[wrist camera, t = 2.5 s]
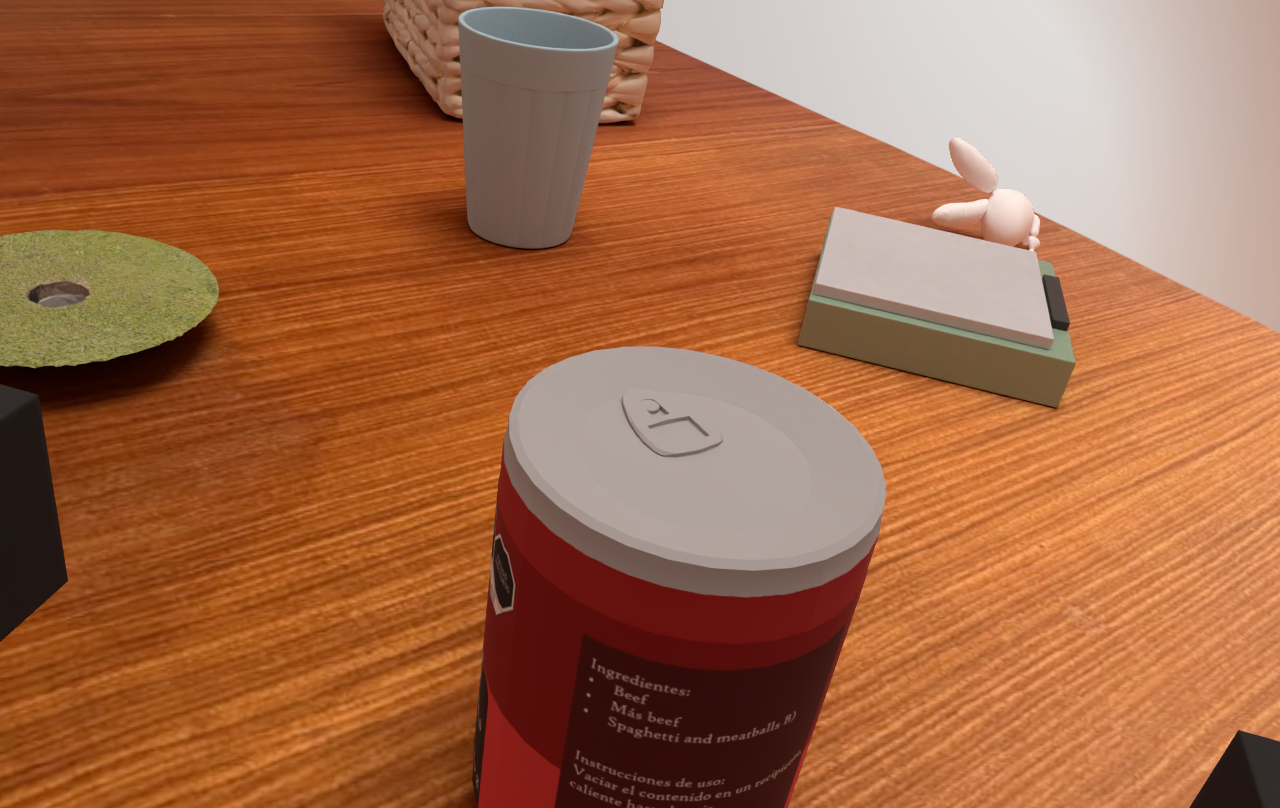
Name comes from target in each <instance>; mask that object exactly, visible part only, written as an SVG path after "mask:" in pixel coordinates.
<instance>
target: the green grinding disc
mask: <svg viewBox="0 0 1280 808" xmlns="http://www.w3.org/2000/svg"><path fill="white" fill-rule="evenodd" d="M217 285H218V284H217V280H216V278H215V277H214V275H213V273H211V271H210V270H209V268H208V266H207V265H205V264H203V262H201V261H200V260H198V258H196V257H195V256H193V255H191V254H189V253H188V252H187V253H186V252H185V251H184V250H181V249H178V248H176V247H174V246H170V245H166V244H164V243H160V242H158V241H156V240H153V239H145V238H143V237H137V236H132V235H128V234H122V233H117V232H105V231H100V230H96V231H94V230H86V231H85V230H80V231H74V230H73V231H67V230H47V231H33V232H32V233H27V232H23V233H20V234H18V233H14V234H11V235H5V236H3V237H1V236H0V365H2V366H6V367H7V366H16V365H19V366H26V367H32V368H37V367H41V366H50V365H53V366H55V367H58V366H63V365H70V366H76V365H77V364H86V363H90V362H95V361H107V360H110V359H113V358H115V357H118V356H121V355H128V354H132V353H136V352H139V351H142V350H145V349H148V348H151V347H155V346H158V345H160V344H162V343H163V342H166V341H168V340H171V341H172V340H173V339H175V338H176V337H177V336H182V335H183V333H184V332H186V331H188V330H190V329H191V328H192V327H196V326H197V325H198V323H200V322H201V321H202V319H205V318H206V316H207V315H208V314H209V313H210V312H211V311H212V309H213V307H214V306H215V305H216V302H217V298H218V291H219V287H218V286H217Z"/></svg>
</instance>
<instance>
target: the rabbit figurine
mask: <svg viewBox="0 0 1280 808" xmlns="http://www.w3.org/2000/svg"><path fill="white" fill-rule="evenodd" d="M949 149H950V154H951V158H952V161H953V163H954V166H955V167H956V169H957V171H958V172H959V173H960V175H961V176H962V177H963V178H964V179H965V180H966V181H967V182H968V183H969V184H970V185H971V186H973V187H974V188H976V189H977V190H979V191H981V192H986V193H989V192H991V191H992V195H991V197H990V198H989V199H988V200H987V199H981V200H977V201H974V202H969V203H949V204H945V205H942V206H940V207H939V208H938V209H936V210H935V211H934V212H933V213H932V219H933V221H934V222H935V223H937V224H938V225H940V226H947V227H961V226H966V225H969V224H971V223H974V222H976V221H978V220H979V219H981V231H982V235H983V238H984V240H985V241H990V242H994V243H999V244H1003V245H1007V246H1012V247H1014V246H1015V245H1017V244H1018V243H1020V244H1021V245H1027V247H1028V249H1029V250H1030V251H1034V249H1036V248H1038V247H1039V245H1040V242H1039V240H1038V239H1037V238H1036V236H1038V234H1039V227H1040V219H1039V217H1038V216H1036V215H1035V214H1034V210H1033V207H1032V204H1031V202H1030V201H1029V200H1028V198H1027V197H1026V196H1025V195H1023V194H1021V193H1020V192H1018V191H1015V190H1012V189H996V187H997V183H998V176H997V174H996V171H995V170H994V168H993V167H992V166H991V165H990V164H989V162H988V161H987V160H986V159H985V158H984V157H983V156H982V155H981V154H980V153H979V152H978V151H977V150H976V149H975V148H974V147H973V146H971V145H970V144H969V143H967V142H965V141H963V140H962V139H959V138H956V137H955V138H951V139H950V142H949ZM1029 232H1030V235H1031V236H1029ZM1028 236H1029V237H1028Z"/></svg>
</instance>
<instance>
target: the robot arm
mask: <svg viewBox="0 0 1280 808" xmlns="http://www.w3.org/2000/svg"><path fill="white" fill-rule="evenodd" d="M67 581H68V578H67V572H66V565H65V559H64V553H63V546H62V540H61V534H60V527H59V521H58V515H57V508H56V502H55V496H54V489H53V483H52V477H51V471H50V464H49V458H48V452H47V445H46V439H45V433H44V426H43V420H42V414H41V407H40V401H39V395H37V394H33V393H30V392H26V391H22V390H19V389H15V388H12V387H8V386H4V385H1V384H0V642H1V641H2V640H3V639H4V638H5V637H6V636H7V635H8V634H10V633H11V632H12V631H13V630H14V629H15V628H16V627H17V626H18V625H20V624H21V623H22V622H23V621H24V620H25V619H26V618H27V617H28V616H30V615H31V614H32V613H33V612H34V611H35V610H36V609H37V608H38V607H40V606H41V605H42V604H43V603H44V602H45V601H46V600H47V599H48V598H50V597H51V596H52V595H53V594H54V593H55V592H56V591H57V590H58V589H60V588H61V587H62V586H63V585H64V584H65V583H66V582H67ZM1190 808H1280V742H1279V741H1276V740H1272V739H1268V738H1265V737H1261V736H1258V735H1254V734H1251V733H1247V732H1243V731H1240V730H1238V732H1237V733H1236V735H1235V737H1234V738H1233V740H1232V741H1231V743H1230V744H1229V746H1228V748H1227V749H1226V751H1225V752H1224V754H1223V755H1222V757H1221V759H1220V760H1219V762H1218V763H1217V765H1216V767H1215V768H1214V770H1213V771H1212V773H1211V774H1210V776H1209V778H1208V779H1207V781H1206V782H1205V784H1204V786H1203V787H1202V789H1201V790H1200V792H1199V793H1198V795H1197V797H1196V798H1195V800H1194V801H1193V803H1192V804H1191V806H1190Z"/></svg>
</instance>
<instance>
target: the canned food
mask: <svg viewBox="0 0 1280 808" xmlns="http://www.w3.org/2000/svg"><path fill="white" fill-rule="evenodd" d="M885 495H886V485H885V480H884V475H883V470H882V467H881V465H880V463H879V461H878V459H877V457H876V455H875V453H874V451H873V449H872V447H871V446H870V445H869V443H868V442H867V441H866V440H865V439H864V437H863V436H862V435H861V434H860V432H859V431H858V430H857V429H856V428H855V426H853V425H852V424H851V423H850V422H849V421H848V420H847V419H846V418H844V417H843V416H842V415H841V414H840V413H839V412H838V411H836V410H835V409H834V408H833V407H831V406H830V405H828V404H827V403H825V402H824V401H822V400H821V399H819V398H818V397H816V396H815V395H813V394H812V393H810V392H809V391H807V390H805V389H803V388H801V387H799V386H797V385H795V384H794V383H792V382H790V381H788V380H786V379H784V378H782V377H780V376H777V375H775V374H772V373H770V372H767V371H765V370H762V369H760V368H757V367H754V366H752V365H749V364H746V363H742V362H739V361H735V360H732V359H728V358H725V357H721V356H717V355H712V354H707V353H702V352H696V351H691V350H685V349H674V348H664V347H620V348H612V349H603V350H596V351H592V352H588V353H584V354H580V355H576V356H573V357H569V358H567V359H565V360H562V361H560V362H558V363H556V364H554V365H551V366H549V367H547V368H546V369H544V370H543V371H541V372H540V373H539V374H537V375H536V376H535V377H533V378H532V379H530V380H529V381H528V382H527V384H526V385H525V386H524V387H523V389H522V390H521V391H520V393H519V394H518V395H517V396H516V398H515V401H514V404H513V407H512V410H511V413H510V415H509V423H508V428H507V431H506V434H505V437H504V442H503V452H502V462H501V471H500V477H499V482H498V492H497V503H496V514H495V525H494V535H493V546H492V557H491V568H490V579H489V590H488V601H487V611H486V622H485V633H484V644H483V655H482V666H481V676H480V687H479V698H478V709H477V720H476V731H475V741H474V752H473V785H474V790H475V794H476V799H477V804H478V808H788V805H789V802H790V799H791V796H792V793H793V790H794V787H795V784H796V781H797V778H798V775H799V772H800V769H801V767H802V764H803V761H804V758H805V755H806V752H807V749H808V746H809V743H810V740H811V737H812V734H813V731H814V728H815V725H816V722H817V720H818V717H819V714H820V711H821V708H822V705H823V702H824V699H825V696H826V693H827V690H828V687H829V684H830V681H831V678H832V675H833V672H834V670H835V667H836V664H837V661H838V658H839V655H840V652H841V649H842V646H843V643H844V640H845V637H846V634H847V631H848V628H849V625H850V622H851V620H852V617H853V614H854V611H855V608H856V605H857V602H858V599H859V596H860V593H861V590H862V587H863V584H864V581H865V578H866V575H867V570H868V566H869V563H870V560H871V557H872V554H873V551H874V548H875V545H876V542H877V539H878V536H879V531H880V524H881V517H882V513H883V509H884V502H885Z"/></svg>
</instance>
